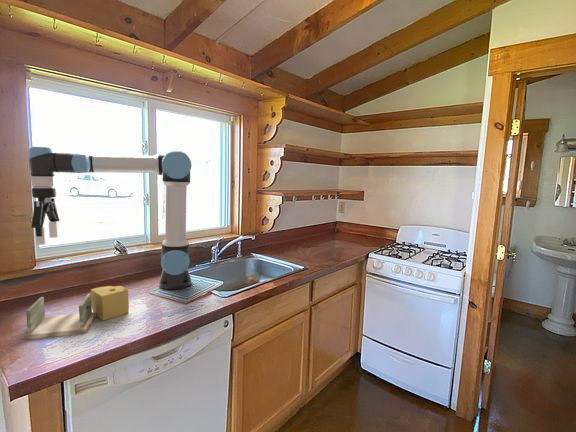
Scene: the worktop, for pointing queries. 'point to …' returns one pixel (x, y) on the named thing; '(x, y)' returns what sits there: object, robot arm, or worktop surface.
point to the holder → (58, 321)
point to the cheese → (109, 301)
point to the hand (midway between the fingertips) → (47, 240)
